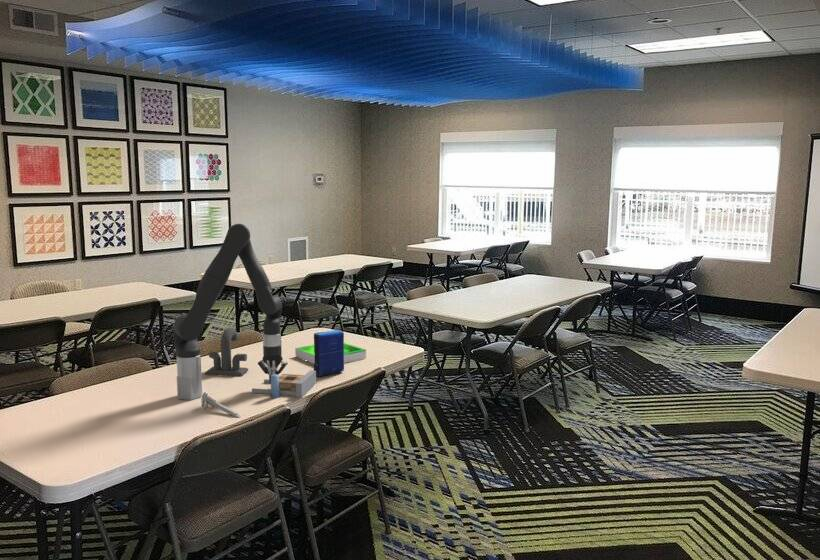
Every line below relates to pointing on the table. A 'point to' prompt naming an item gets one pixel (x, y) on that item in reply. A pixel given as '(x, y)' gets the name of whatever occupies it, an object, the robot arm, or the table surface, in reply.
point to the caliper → (216, 405)
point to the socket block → (288, 381)
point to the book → (329, 352)
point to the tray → (349, 353)
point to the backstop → (301, 386)
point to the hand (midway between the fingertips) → (273, 383)
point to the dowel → (274, 386)
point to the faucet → (227, 357)
